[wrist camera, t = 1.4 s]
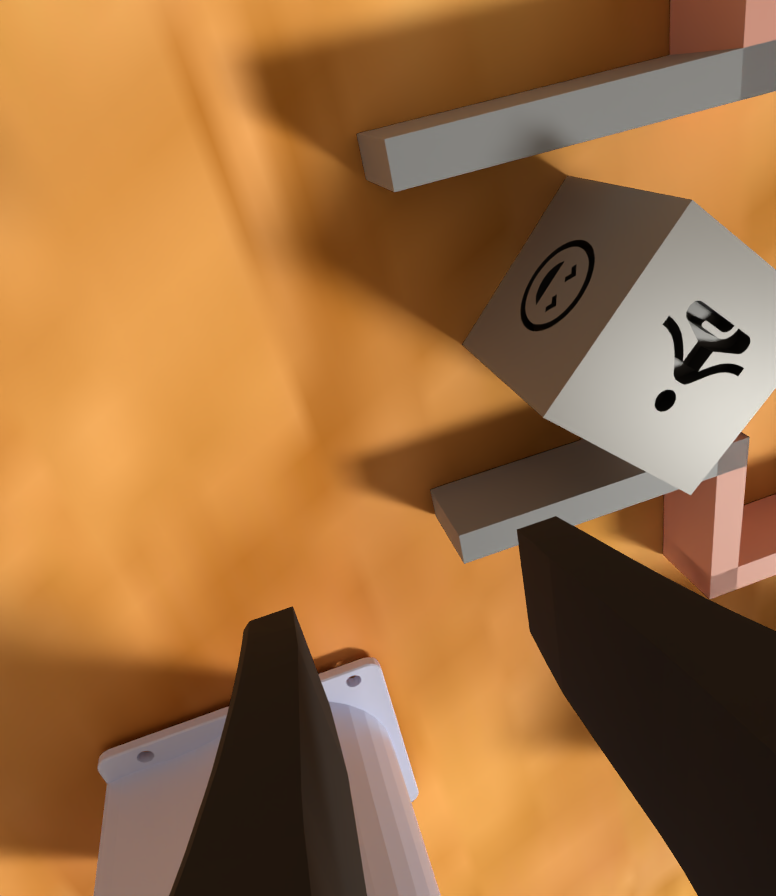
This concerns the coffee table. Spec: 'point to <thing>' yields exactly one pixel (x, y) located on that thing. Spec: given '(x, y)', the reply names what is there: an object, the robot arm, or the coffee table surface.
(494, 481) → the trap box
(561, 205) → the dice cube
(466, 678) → the coffee table surface
